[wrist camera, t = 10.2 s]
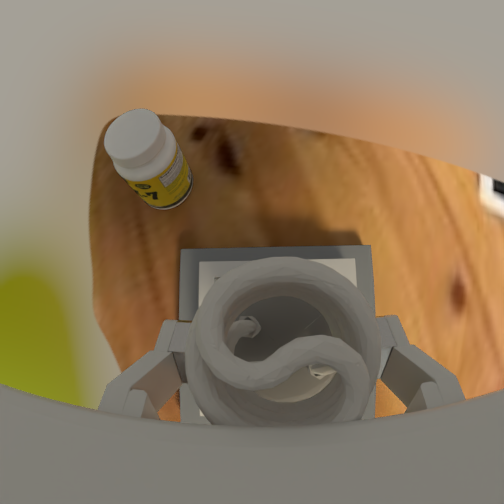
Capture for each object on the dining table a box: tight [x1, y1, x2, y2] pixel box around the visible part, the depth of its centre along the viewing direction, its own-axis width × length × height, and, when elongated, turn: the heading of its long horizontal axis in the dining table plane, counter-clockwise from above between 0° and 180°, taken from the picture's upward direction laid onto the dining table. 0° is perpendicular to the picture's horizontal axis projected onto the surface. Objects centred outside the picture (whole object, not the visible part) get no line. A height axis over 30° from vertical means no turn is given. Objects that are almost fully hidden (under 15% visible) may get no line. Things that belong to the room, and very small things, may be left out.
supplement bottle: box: [104, 109, 193, 210], centre depth 22 cm, size 5×5×8 cm
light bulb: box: [185, 257, 381, 426], centre depth 12 cm, size 6×6×12 cm
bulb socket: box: [179, 245, 376, 425], centre depth 21 cm, size 14×13×4 cm
